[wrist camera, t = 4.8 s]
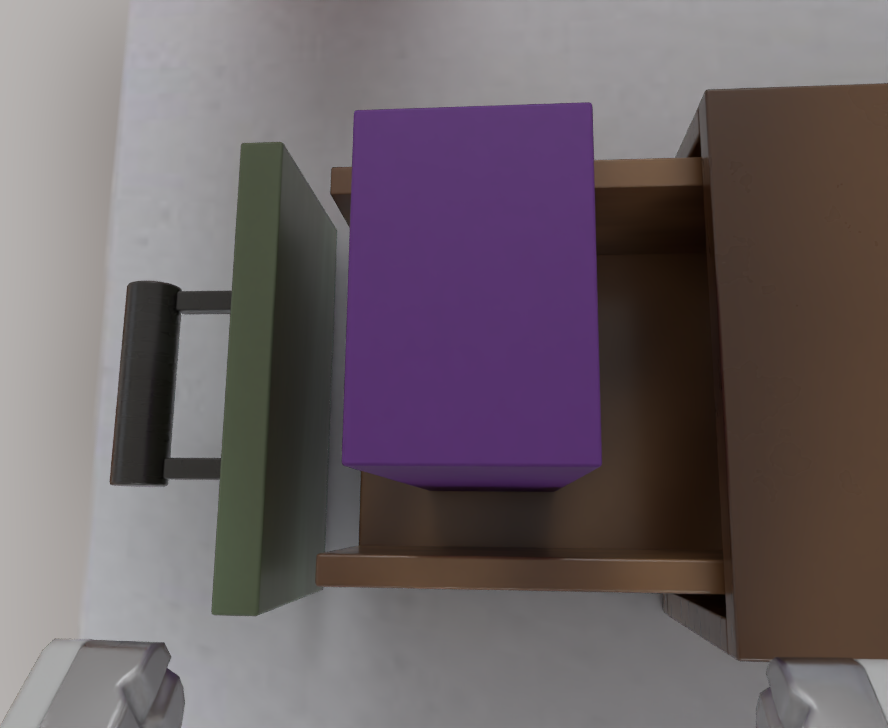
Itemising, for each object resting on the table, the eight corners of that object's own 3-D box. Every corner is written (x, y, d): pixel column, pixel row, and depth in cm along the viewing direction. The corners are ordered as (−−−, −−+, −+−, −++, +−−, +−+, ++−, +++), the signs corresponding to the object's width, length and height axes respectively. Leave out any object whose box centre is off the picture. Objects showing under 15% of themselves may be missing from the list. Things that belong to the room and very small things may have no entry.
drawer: (161, 587, 26) (41, 611, 19) (188, 232, 28) (88, 146, 22) (742, 598, 25) (829, 629, 18) (721, 221, 27) (789, 125, 20)
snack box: (555, 492, 25) (602, 467, 12) (428, 490, 25) (340, 466, 12) (552, 305, 26) (592, 101, 13) (431, 307, 26) (353, 109, 13)
